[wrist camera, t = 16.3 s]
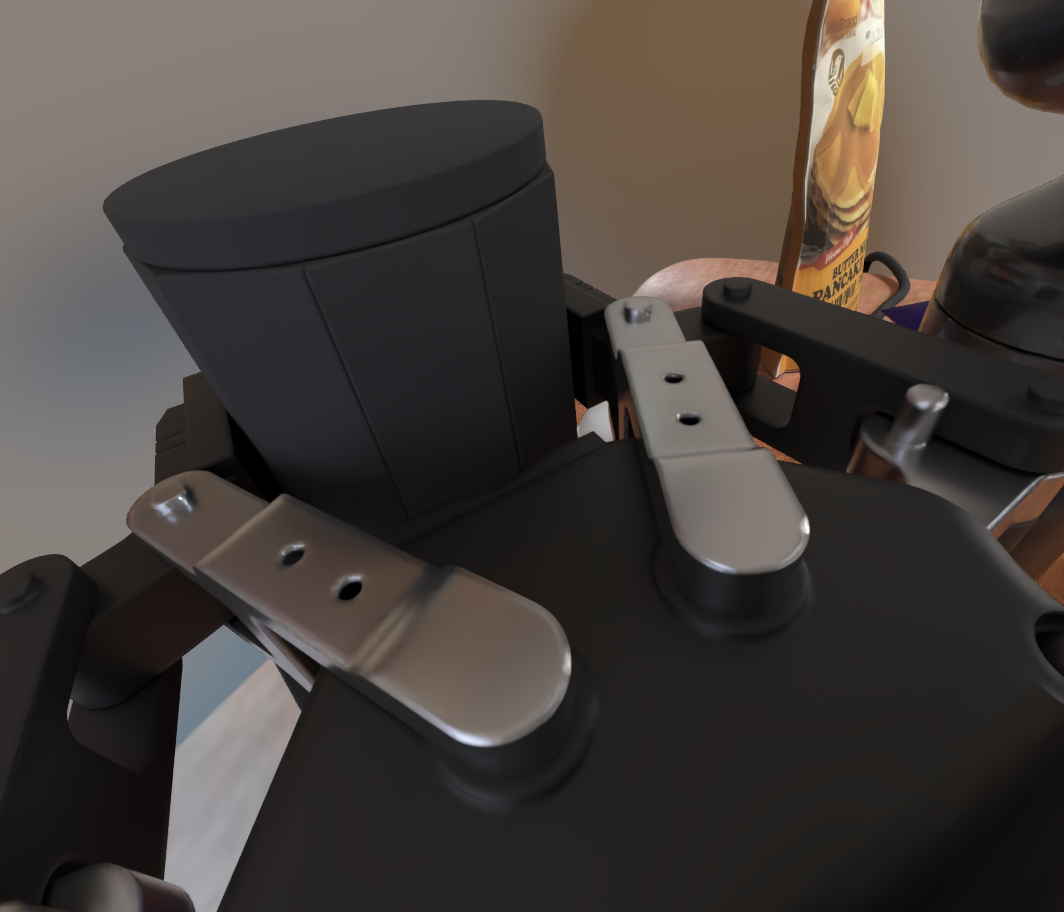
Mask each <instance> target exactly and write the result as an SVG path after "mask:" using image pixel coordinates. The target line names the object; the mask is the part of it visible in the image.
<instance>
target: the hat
mask: <svg viewBox="0 0 1064 912" xmlns="http://www.w3.org/2000/svg"><path fill="white" fill-rule="evenodd" d="M103 210H104V213H105V214H106V216H107V218H108V219H109V221H110V222H111V224H112V226H113V227H114V229H115V230H116V232H117V233H118V235H119V236H120V238H121V240H122V241H123V243H124V246H123V251H124V253H125V254H126V256H127V257H128V259H129V260H130V262H131V263H132V265H133V267H134V268H135V270H136V271H137V273H138V274H139V276H140V277H141V279H142V280H143V282H144V284H145V285H146V287H147V288H148V290H149V291H150V293H151V294H152V296H153V298H154V299H155V301H156V302H157V304H158V305H159V307H160V308H161V310H162V311H163V313H164V314H165V316H166V318H167V319H168V321H169V322H170V324H171V325H172V327H173V329H174V330H175V332H176V333H177V335H178V336H179V338H180V339H181V341H182V342H183V344H184V346H185V347H186V349H187V350H188V352H189V353H190V355H191V356H192V358H193V360H194V361H195V362H196V364H197V366H198V367H199V369H200V370H201V372H202V373H203V375H204V377H205V378H206V380H207V381H208V383H209V384H210V386H211V387H212V389H213V391H214V392H215V394H216V395H217V397H218V398H219V400H220V401H221V403H222V404H223V406H224V408H225V409H226V410H227V411H228V413H229V415H230V416H231V418H232V419H233V421H234V422H235V424H236V425H237V427H238V429H239V430H240V432H241V433H242V435H243V436H244V438H245V439H246V441H247V442H248V444H249V446H250V447H251V449H252V450H253V452H254V453H255V455H256V456H257V458H258V460H259V461H260V463H261V464H262V466H263V467H264V469H265V470H266V472H267V474H268V475H269V477H270V478H271V480H272V481H273V483H274V484H275V486H276V487H277V489H278V491H279V492H280V494H287V495H290V496H292V497H294V498H296V499H298V500H300V501H302V502H304V503H306V504H309V505H311V506H313V507H315V508H317V509H319V510H321V511H323V512H325V513H327V514H329V515H331V516H333V517H335V518H337V519H339V520H341V521H343V522H345V523H347V524H349V525H351V526H353V527H355V528H357V529H359V530H361V531H363V532H365V533H367V534H369V535H371V536H373V537H375V538H377V539H379V540H381V541H384V542H386V543H388V544H390V545H392V546H395V545H396V544H397V541H396V539H395V537H394V534H393V532H392V530H391V528H390V527H392V526H394V525H396V524H399V523H401V522H403V521H405V520H407V519H409V518H411V517H413V516H415V515H417V514H420V513H422V512H424V511H426V510H428V509H430V508H432V507H434V506H436V505H438V504H441V503H443V502H445V501H448V500H452V499H455V498H459V497H463V496H466V495H470V494H474V493H478V492H481V491H485V490H489V489H492V488H496V487H499V486H502V485H505V484H507V483H508V482H510V481H511V480H512V479H514V478H515V477H516V476H518V475H519V474H520V473H522V472H523V471H524V470H525V469H527V468H528V467H529V466H531V465H532V464H533V463H535V462H536V461H537V460H539V459H540V458H541V457H542V456H544V455H545V454H546V453H548V452H550V451H552V450H554V449H556V448H558V447H560V446H562V445H564V444H566V443H569V442H571V441H573V440H575V439H577V438H578V432H577V421H576V410H575V399H574V388H573V377H572V366H571V355H570V344H569V334H568V323H567V312H566V301H565V290H564V279H563V268H562V257H561V247H560V235H559V224H558V213H557V203H556V191H555V180H554V173H553V171H552V169H551V168H550V166H549V164H548V163H547V161H546V152H545V141H544V131H543V121H542V116H541V114H540V112H539V111H538V110H537V109H536V108H534V107H532V106H529V105H526V104H522V103H517V102H511V101H497V100H471V101H452V102H441V103H430V104H420V105H412V106H404V107H397V108H390V109H383V110H377V111H371V112H365V113H359V114H353V115H348V116H342V117H337V118H333V119H327V120H322V121H317V122H312V123H308V124H303V125H299V126H294V127H290V128H286V129H281V130H277V131H273V132H269V133H265V134H261V135H257V136H253V137H250V138H246V139H242V140H239V141H236V142H232V143H228V144H225V145H221V146H218V147H215V148H211V149H208V150H205V151H202V152H199V153H196V154H193V155H190V156H187V157H184V158H181V159H178V160H176V161H173V162H170V163H168V164H165V165H163V166H160V167H158V168H155V169H153V170H150V171H148V172H146V173H144V174H142V175H140V176H138V177H136V178H133V179H132V180H130V181H128V182H126V183H125V184H123V185H121V186H120V187H119V188H117V189H116V190H115V191H113V192H112V193H111V194H110V195H109V196H108V197H107V198H106V199H105V200H104V204H103ZM275 665H276V666H277V668H278V670H279V672H280V674H281V675H282V677H283V679H284V681H285V683H286V685H287V686H288V688H289V690H290V692H291V694H292V695H293V697H294V699H295V701H296V703H297V704H298V706H299V708H300V710H301V712H302V710H303V707H304V705H305V702H306V700H307V698H308V695H309V693H310V692H308V691H307V690H306V689H305V688H304V687H303V686H302V685H301V684H300V683H299V682H297V681H296V680H295V679H294V678H293V677H292V676H291V675H290V674H288V673H287V672H286V671H285V670H284V669H282V668H281V667H280V666H278V665H277V664H276V663H275Z"/></svg>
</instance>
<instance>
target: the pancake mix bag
mask: <svg viewBox="0 0 1064 912" xmlns="http://www.w3.org/2000/svg"><path fill="white" fill-rule="evenodd" d="M884 43H885V42H884V0H813V3H812V6H811V10H810V14H809V17H808V21H807V26H806V33H805V39H804V45H803V52H802V54H803V55H802V77H801V108H800V124H799V133H798V140H797V147H796V153H795V163H794V171H793V193H792V204H791V208H790V214H789V218H788V223H787V227H786V232H785V237H784V242H783V248H782V253H781V259H780V263H779V268H778V273H777V278H776V282H775V286H778V287H781V288H784V289H788V290H791V291H794V292H797V293H800V294H803V295H806V296H810V297H813V298H816V299H819V300H822V301H825V302H828V303H832V304H835V305H838V306H841V307H844V308H847V309H850V310H854V311H856V308H857V304H858V301H859V296H860V288H861V279H862V271H863V263H864V256H865V249H866V242H867V235H868V226H869V218H870V212H871V205H872V197H873V188H874V179H875V172H876V166H877V159H878V151H879V142H880V137H879V136H880V132H879V131H880V126H881V121H882V113H883V105H884V84H885V83H884V82H885V44H884ZM761 360H762V364H763V365H764V366H765V368H766V369H767V370H768V372H769V373H770V374H772V375H773V376H774V377H775V378H776V377H778V376H779V375H781V374H782V373H784V372H793V371H800V370H799V367H798V365H797V364H796V363H795V361H793V360H792V359H791V358H790V357H788V356H785V355H783V354H781V353H778V352H776V351H773V350H771V349H769V348H766V347H764V346H763V348H762V352H761Z"/></svg>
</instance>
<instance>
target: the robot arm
mask: <svg viewBox="0 0 1064 912" xmlns="http://www.w3.org/2000/svg"><path fill="white" fill-rule="evenodd" d="M978 47H979V53H980V58H981V60H982V62H983V64H984V67H985V69H986V71H987V74H988V76H989V78H990V80H991V81H992V82H993V83H994V84H995V85H996V86H997V87H998V88H999V89H1000V91H1001V92H1002V93H1003V94H1004V95H1006V96H1007V97H1009V98H1011V99H1012V100H1014V101H1016V102H1018V103H1020V104H1022V105H1024V106H1026V107H1029V108H1032V109H1036V110H1039V111H1043V112H1050V113H1057V114H1064V0H981V2H980V8H979V14H978ZM873 261H880V262H882V263H884V264H885V265H886V266H887V267H888V268H889V269H890V270H891V271H892V273H893V274H894V275H895V277H896V279H897V281H898V283H899V289H898V291H897V292H896V293H895V294H894V295H893V296H891V297H890V298H889V299H888V300H886V301H885V302H884V303H883V304H882V305H880V307H879V308H878V309H877V310H876V311H875V312H874V313H873V314H872V315H871V316H869V315H866V314H863V313H860V312H857V311H854V310H850V309H847V308H844V307H841V306H838V305H835V304H832V303H828V302H825V301H822V300H819V299H816V298H813V297H810V296H806V295H803V294H800V293H797V292H794V291H791V290H788V289H784V288H781V287H778V286H775V285H772V284H769V283H766V282H762V281H759V280H756V279H751V278H743V277H732V278H724V279H719V280H716V281H713V282H711V283H709V284H708V285H707V286H705V288H704V289H703V296H702V306H701V307H696V308H691V309H686V310H681V311H676V312H672V310H671V307H670V306H669V304H668V303H666V302H665V301H663V300H661V299H658V298H654V297H648V296H635V297H628V298H624V299H620V300H616V299H614V298H612V297H610V296H609V295H607V294H605V293H603V292H601V291H599V290H598V289H593V287H592V286H590V285H588V284H587V283H583V281H581V280H579V279H577V278H576V277H574V276H572V275H569V274H564V273H563V279H564V290H565V301H566V312H567V323H568V334H569V344H570V355H571V366H572V377H573V388H574V398H575V399H576V400H578V401H579V402H580V403H581V404H582V405H584V406H585V407H586V408H587V409H589V408H592V407H594V406H596V405H598V404H600V403H602V402H605V401H607V402H608V413H609V421H610V426H611V431H612V436H613V441H610V442H605V441H604V440H603V439H602V438H601V437H600V436H599V435H597V434H596V433H595V432H594V431H592V432H590V433H587V434H585V435H583V436H581V437H579V438H577V439H575V440H573V441H571V442H569V443H566V444H564V445H562V446H560V447H558V448H556V449H554V450H552V451H550V452H548V453H546V454H545V455H544V456H542V457H541V458H540V459H539V460H537V461H536V462H535V463H533V464H532V465H531V466H529V467H528V468H527V469H525V470H524V471H523V472H522V473H520V474H519V475H518V476H516V477H515V478H514V479H512V480H511V481H510V482H508V483H507V484H505V485H502V486H499V487H496V488H492V489H489V490H485V491H481V492H478V493H474V494H470V495H466V496H463V497H459V498H455V499H452V500H448V501H445V502H443V503H441V504H438V505H436V506H434V507H432V508H430V509H428V510H426V511H424V512H422V513H420V514H417V515H415V516H413V517H411V518H409V519H407V520H405V521H403V522H401V523H399V524H396V525H394V526H392V527H390V528H391V530H392V532H393V534H394V537H395V539H396V541H397V544H396V545H395V546H392V545H390V544H388V543H386V542H384V541H381V540H379V539H377V538H375V537H373V536H371V535H369V534H367V533H365V532H363V531H361V530H359V529H357V528H355V527H353V526H351V525H349V524H347V523H345V522H343V521H341V520H339V519H337V518H335V517H333V516H331V515H329V514H327V513H325V512H323V511H321V510H319V509H317V508H315V507H313V506H311V505H309V504H306V503H304V502H302V501H300V500H298V499H296V498H294V497H292V496H290V495H287V494H280V492H279V491H278V489H277V487H276V486H275V484H274V483H273V481H272V480H271V478H270V477H269V475H268V474H267V472H266V470H265V469H264V467H263V466H262V464H261V463H260V461H259V460H258V458H257V456H256V455H255V453H254V452H253V450H252V449H251V447H250V446H249V444H248V442H247V441H246V439H245V438H244V436H243V435H242V433H241V432H240V430H239V429H238V427H237V425H236V424H235V422H234V421H233V419H232V418H231V416H230V415H229V413H228V411H227V410H226V409H225V408H224V406H223V404H222V403H221V401H220V400H219V398H218V397H217V395H216V394H215V392H214V391H213V389H212V387H211V386H210V384H209V383H208V381H207V380H206V378H205V377H204V375H203V373H202V372H199V373H196V374H193V375H190V376H188V377H185V378H183V390H184V391H183V392H184V403H183V404H181V405H178V406H175V407H172V408H169V409H167V411H166V412H165V414H164V415H163V417H162V418H161V420H160V421H159V422H158V424H157V426H156V441H157V443H156V450H155V451H156V454H157V455H156V456H155V485H154V486H153V487H152V488H150V489H149V490H148V491H146V492H145V493H144V494H143V495H142V496H140V497H139V498H138V499H137V501H136V502H135V503H134V504H133V506H132V507H131V508H130V510H129V512H128V514H127V518H126V523H127V526H128V528H129V529H130V530H131V531H132V533H131V534H130V535H129V536H127V537H126V538H125V539H123V540H122V541H121V542H119V543H118V544H116V545H115V546H113V547H111V548H110V549H108V550H107V551H105V552H103V553H102V554H100V555H99V556H97V557H95V558H94V559H92V560H90V561H89V562H87V563H86V564H84V565H82V566H81V567H78V566H77V565H76V564H75V563H74V562H73V561H71V560H70V559H69V558H68V557H66V556H64V555H58V554H51V555H45V556H39V557H36V558H33V559H30V560H28V561H25V562H23V563H21V564H18V565H16V566H14V567H12V568H11V569H9V570H7V571H6V572H4V573H2V574H1V575H0V912H195V909H194V905H193V902H192V900H191V898H190V897H189V895H188V894H187V893H186V892H185V891H184V890H183V889H182V888H181V887H179V886H177V885H175V884H172V883H169V882H166V881H164V872H165V861H166V849H167V838H168V827H169V815H170V804H171V792H172V781H173V769H174V758H175V746H176V734H177V722H178V712H179V701H180V689H181V678H182V666H183V664H182V656H184V655H185V654H186V653H188V652H189V651H190V650H192V649H193V648H194V647H195V646H197V645H198V644H199V643H200V642H202V641H203V640H204V639H206V638H207V637H208V636H210V635H211V634H212V633H213V632H215V631H216V630H217V629H219V628H220V627H221V626H222V625H225V626H227V627H228V628H229V629H230V630H232V631H233V632H235V633H236V634H237V635H239V636H240V637H241V638H242V639H244V640H245V641H246V642H248V643H249V644H250V645H252V646H253V647H255V648H256V649H257V650H258V651H260V652H261V653H262V654H264V655H265V656H266V657H268V658H269V659H270V660H272V661H273V662H274V663H276V664H277V665H278V666H280V667H281V668H282V669H284V670H285V671H286V672H287V673H288V674H290V675H291V676H292V677H293V678H294V679H295V680H296V681H297V682H299V683H300V684H301V685H302V686H303V687H304V688H305V689H306V690H307V691H308V692H310V693H309V695H308V698H307V700H306V702H305V705H304V707H303V710H302V712H301V714H300V717H299V719H298V721H297V724H296V726H295V728H294V731H293V733H292V735H291V738H290V740H289V743H288V745H287V747H286V750H285V752H284V754H283V757H282V759H281V761H280V764H279V766H278V768H277V771H276V773H275V775H274V778H273V780H272V783H271V785H270V787H269V790H268V792H267V794H266V797H265V799H264V801H263V804H262V806H261V808H260V811H259V813H258V816H257V818H256V820H255V823H254V825H253V827H252V830H251V832H250V834H249V837H248V839H247V841H246V844H245V846H244V848H243V851H242V853H241V856H240V858H239V860H238V863H237V865H236V867H235V870H234V872H233V874H232V877H231V879H230V881H229V884H228V886H227V889H226V891H225V893H224V896H223V898H222V900H221V903H220V905H219V907H218V910H217V912H1064V606H1063V605H1062V604H1060V603H1059V602H1058V601H1057V600H1055V599H1054V598H1053V597H1052V596H1051V595H1049V594H1048V593H1047V592H1046V591H1045V590H1044V589H1043V588H1042V587H1041V586H1039V585H1038V584H1037V583H1036V581H1037V580H1038V579H1039V578H1040V577H1041V576H1042V575H1043V574H1044V573H1045V572H1046V571H1047V570H1048V568H1049V567H1050V566H1051V565H1052V564H1053V563H1054V562H1055V561H1056V560H1057V558H1058V557H1059V556H1060V555H1061V554H1062V553H1063V552H1064V175H1062V176H1060V177H1058V178H1056V179H1054V180H1052V181H1050V182H1048V183H1046V184H1044V185H1042V186H1039V187H1037V188H1035V189H1033V190H1030V191H1028V192H1026V193H1023V194H1021V195H1019V196H1017V197H1014V198H1012V199H1010V200H1008V201H1005V202H1003V203H1001V204H998V205H996V206H994V207H993V208H991V209H989V210H987V211H986V212H984V213H983V214H981V215H979V216H978V217H977V218H975V219H974V220H973V221H972V222H970V223H969V224H968V225H967V227H965V229H964V230H963V231H962V232H961V234H960V235H959V236H958V238H957V239H956V241H955V243H954V245H953V247H952V249H951V252H950V253H949V255H948V258H947V260H946V263H945V265H944V267H943V270H942V272H941V275H940V278H939V280H938V282H937V285H936V288H935V290H934V292H933V294H932V297H931V299H930V302H929V304H928V307H927V309H926V312H925V314H924V317H923V319H922V322H921V324H920V326H919V329H918V331H916V330H913V329H910V328H907V327H904V326H901V325H898V324H894V323H891V322H888V321H885V320H882V318H883V317H884V316H885V314H884V313H883V312H881V311H880V310H884V309H889V308H893V307H894V306H895V305H897V304H898V303H899V302H900V301H901V300H903V299H904V298H905V296H906V295H907V293H908V292H909V289H910V282H909V278H908V276H907V274H906V272H905V271H904V269H903V268H902V266H901V265H900V264H899V263H898V262H897V261H896V260H895V259H894V258H893V257H891V256H890V255H888V254H886V253H883V252H874V253H871V254H869V255H868V256H867V257H866V258H865V259H864V263H863V271H862V272H863V273H868V271H869V268H870V265H871V263H872V262H873ZM762 346H764V347H766V348H769V349H771V350H773V351H776V352H778V353H781V354H783V355H785V356H788V357H790V358H791V359H792V360H793V361H795V363H796V364H797V365H798V367H799V370H800V376H801V377H800V382H799V386H798V390H797V392H795V391H793V390H791V389H789V388H787V387H784V386H782V385H780V384H778V383H776V382H774V381H771V380H769V379H767V378H765V377H763V376H761V375H758V374H757V372H758V367H759V361H760V356H761V351H762ZM751 436H753V437H755V438H757V439H758V440H760V441H762V442H764V443H766V444H767V445H769V446H771V447H773V448H775V449H776V450H778V451H780V452H782V453H784V454H785V455H787V456H789V457H791V458H793V459H794V460H796V461H798V462H800V463H802V464H803V465H802V464H796V463H791V462H785V461H780V460H776V458H775V456H774V455H773V453H772V452H771V451H770V450H769V449H768V448H765V447H758V446H757V445H756V444H755V442H754V441H753V439H752V437H751ZM70 699H72V700H73V703H72V707H71V711H70V715H69V719H68V721H67V709H68V704H69V700H70Z"/></svg>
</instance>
